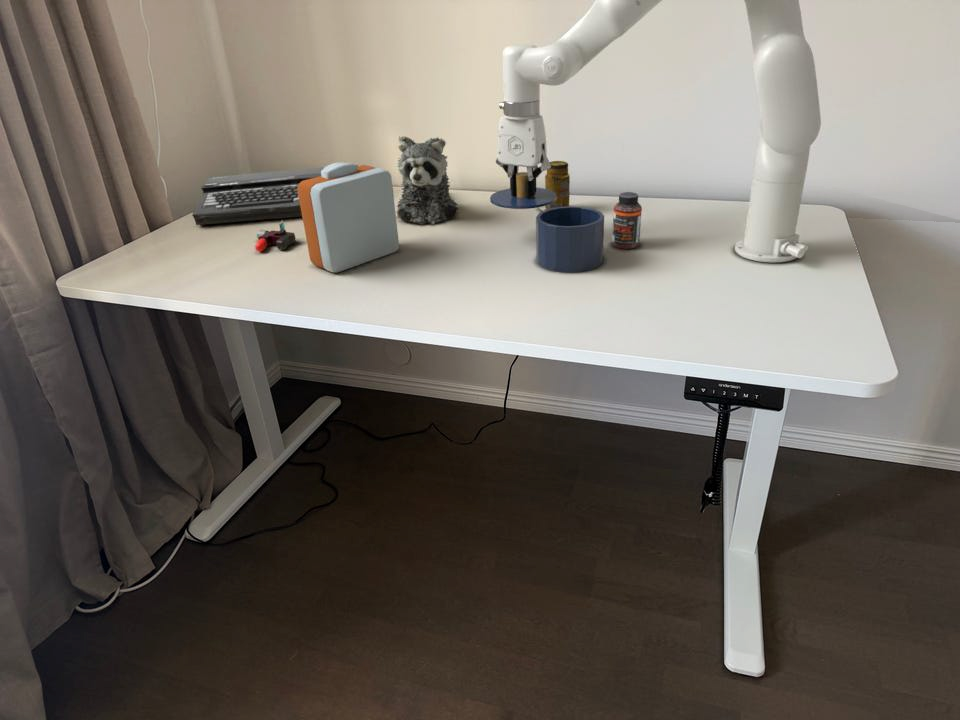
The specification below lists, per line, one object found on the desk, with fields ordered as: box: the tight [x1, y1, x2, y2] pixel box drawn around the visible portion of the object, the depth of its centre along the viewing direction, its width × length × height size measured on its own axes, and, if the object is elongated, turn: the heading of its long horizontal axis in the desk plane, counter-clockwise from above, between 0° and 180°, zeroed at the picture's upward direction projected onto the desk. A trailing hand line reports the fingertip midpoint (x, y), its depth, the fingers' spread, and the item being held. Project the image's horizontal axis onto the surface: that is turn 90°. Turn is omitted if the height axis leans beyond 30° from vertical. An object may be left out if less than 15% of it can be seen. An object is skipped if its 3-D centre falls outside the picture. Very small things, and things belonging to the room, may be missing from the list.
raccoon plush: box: [396, 136, 459, 226], centre depth 176 cm, size 15×32×21 cm, turn 14°
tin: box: [535, 205, 605, 273], centre depth 144 cm, size 14×14×10 cm
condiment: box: [539, 160, 571, 212], centre depth 173 cm, size 7×8×12 cm
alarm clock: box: [297, 161, 400, 274], centre depth 149 cm, size 18×9×21 cm, turn 134°
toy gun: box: [254, 220, 297, 252], centre depth 163 cm, size 10×12×5 cm
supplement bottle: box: [611, 191, 643, 250], centre depth 150 cm, size 6×6×11 cm
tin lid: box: [489, 171, 557, 210], centre depth 154 cm, size 15×15×6 cm
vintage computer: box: [191, 164, 359, 226], centre depth 190 cm, size 43×29×8 cm
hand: (523, 194), depth 154 cm, fingers closed on tin lid, 3 cm apart
